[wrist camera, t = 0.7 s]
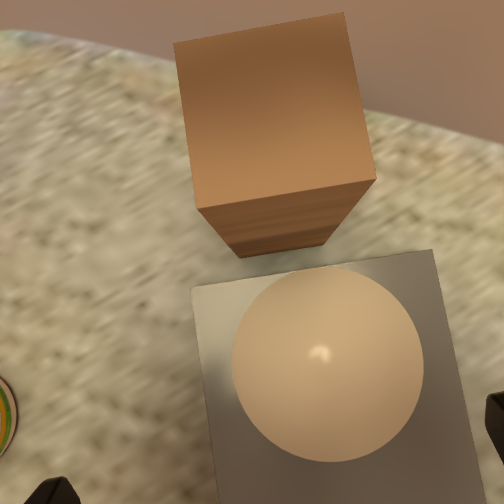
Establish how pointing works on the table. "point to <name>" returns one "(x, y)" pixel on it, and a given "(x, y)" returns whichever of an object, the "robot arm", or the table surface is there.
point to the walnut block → (275, 133)
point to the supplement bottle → (6, 416)
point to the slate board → (335, 387)
